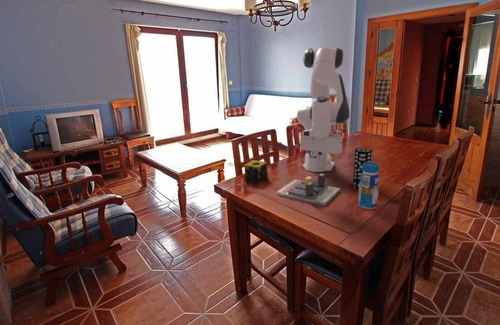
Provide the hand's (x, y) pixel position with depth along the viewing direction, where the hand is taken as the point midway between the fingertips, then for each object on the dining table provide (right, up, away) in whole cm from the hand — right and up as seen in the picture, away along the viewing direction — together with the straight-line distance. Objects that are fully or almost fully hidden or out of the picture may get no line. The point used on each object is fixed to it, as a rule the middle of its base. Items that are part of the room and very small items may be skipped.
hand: (320, 160), depth 141 cm
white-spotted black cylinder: (+25, -14, +14) cm, 32 cm away
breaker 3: (+3, -12, +11) cm, 17 cm away
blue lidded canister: (+20, -21, -7) cm, 30 cm away
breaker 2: (-5, -16, +1) cm, 17 cm away
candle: (-30, -11, +32) cm, 45 cm away
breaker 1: (-4, -13, +8) cm, 16 cm away
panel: (-4, -17, +9) cm, 19 cm away
